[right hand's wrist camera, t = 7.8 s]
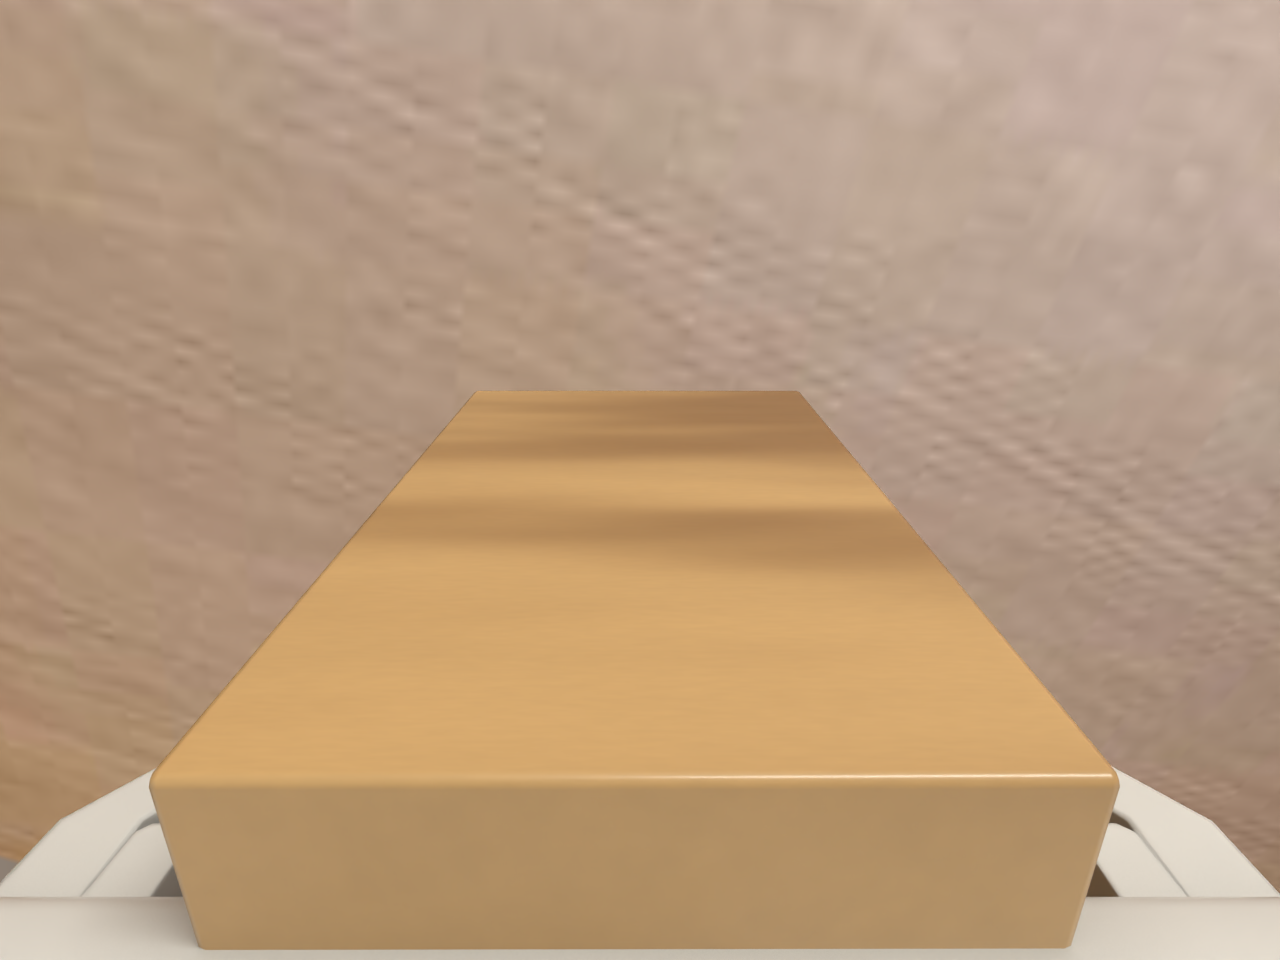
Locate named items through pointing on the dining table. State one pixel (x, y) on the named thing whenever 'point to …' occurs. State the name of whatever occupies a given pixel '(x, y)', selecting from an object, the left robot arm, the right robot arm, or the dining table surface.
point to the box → (634, 711)
